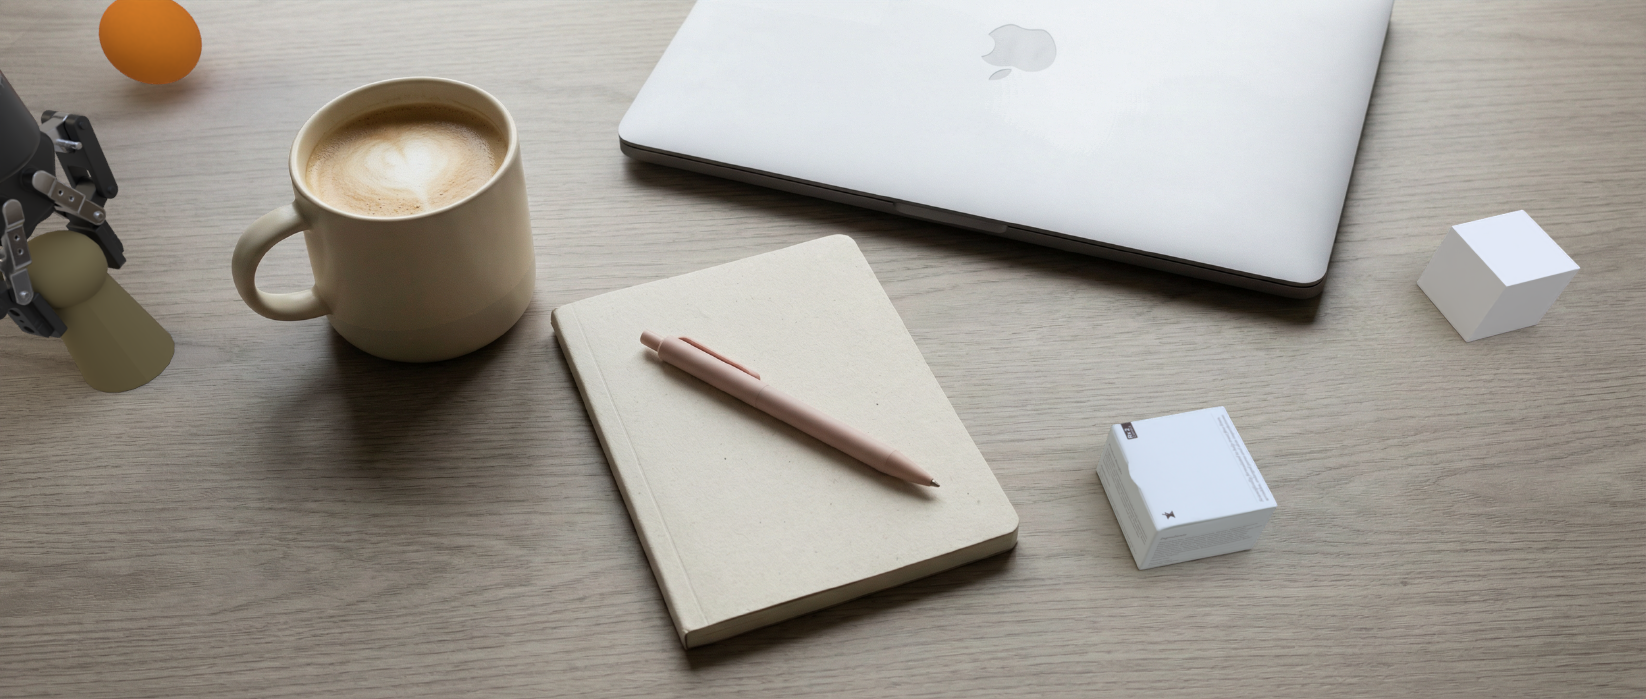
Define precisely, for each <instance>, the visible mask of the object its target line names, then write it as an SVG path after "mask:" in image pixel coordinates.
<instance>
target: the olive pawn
mask: <svg viewBox="0 0 1646 699" xmlns="http://www.w3.org/2000/svg"><path fill="white" fill-rule="evenodd" d="M27 243H28V247H29V251H30V254H31V258H32V264H31V265H29V266H28V273H29V276H30V280H31V284H32V288H33V292H37V293H40V294H41V296H42V297H43V298H44V299H45V300H46V302H47V303H48V304H49V305H50V307H51V308H52V309H53V310H54V311H55V313H56V314H57V315H58V316H59V318H60V319H61V320H62V321H63V322H64V324H65V325H66V326H67V328H68V329H67V331H66V332H65V333H64V334H63V335H62V336H61V338H60V339H61V340H62V342H63V343H64V346H65V348H66V349H67V351H68V353H69V354H70V356H71V358H72V360H73V361H74V363H75V365H76V366H77V369H78V371H79V372H80V374H81V376H82V377H83V379H84V381H85V383H86V384H88V386H90V387H91V388H92V389H94V390H97V391H100V392H103V393H122V392H126V391H127V392H128V391H131V390H135V389H137V388H139V387H141V386H144V385H145V384H148V383H149V382H151V381H152V380H154V379H155V378H157V377H158V376H159V375H161V374H162V372H164V370H165V369H167V367H168V366H169V364H170V363H171V361H172V358H173V356H174V354H175V344H176V343H175V340H174V339H173V337H172V334H170V333H169V332H168V331H167V330H166V328H165V327H163V326H162V325H161V324H160V323H159V322H158V321H157V320H156V319H155V318H154V317H153V315H151V313H149V312H148V311H147V310H146V309H145V308H144V307H143V306H142V305H141V304H140V303H139V302H138V301H137V300H136V299H135V298H134V297H133V296H132V295H131V294H130V293H129V292H128V291H127V290H126V289H125V288H124V287H123V286H122V285H121V284H120V283H119V282H118V281H117V280H116V279H115V278H114V277H113V276H112V275H111V274H110V273H108V270H109V268H108V264H107V261H106V258H105V256H104V253H103V251H102V250H101V248H100V247H99V245H98V244H96V243H95V242H94V241H93V240H91V239H90V238H89V237H87V236H86V235H84V234H81V233H78V232H74V231H70V230H68V229H57V230H54V231H48V232H47V231H46V232H45V233H42V234H40V235H36V236H35V237H33V238H31V239H29V240H27Z"/></svg>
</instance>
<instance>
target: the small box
mask: <svg viewBox="0 0 1646 699" xmlns="http://www.w3.org/2000/svg"><path fill="white" fill-rule="evenodd" d="M1233 422H1234V421H1232V419H1231V417H1230V415H1229V413H1228V411H1227V408H1226V407H1225V406H1223V405H1221V406H1220V405H1219V406H1213V407H1207V408H1201V409H1195V410H1190V411H1185V412H1179V413H1173V414H1167V415H1162V416H1157V417H1150V418H1145V419H1139V420H1133V421H1127V422H1122V423H1115V424H1112V425H1111V426H1110V428H1109V431H1108V433H1107V437H1106V439H1105V443H1104V446H1103V448H1102V451H1101V454H1100V457H1099V459H1098V463H1097V465H1096V469H1095V471H1096V473H1097V475H1098V478H1099V480H1100V482H1101V485H1102V487H1103V490H1104V491H1105V494H1106V496H1107V499H1108V502H1109V503H1110V506H1111V508H1112V511H1113V514H1114V515H1115V517H1116V519H1117V520H1116V521H1117V522H1118V524H1119V527H1120V529H1121V532H1122V534H1123V537H1124V538H1125V541H1126V543H1127V546H1128V548H1129V550H1130V553H1131V555H1132V557H1133V559H1134V561H1135V564H1136V566H1137V569H1138V570H1139V571H1142V570H1149V569H1153V568H1159V567H1165V566H1168V565H1169V566H1170V565H1174V564H1180V563H1185V562H1189V561H1194V560H1199V559H1200V560H1201V559H1207V558H1211V557H1216V556H1222V555H1227V554H1232V553H1237V552H1243V551H1248V550H1251V549H1253V548H1254V547H1255V545H1256V543H1257V541H1258V540H1259V538H1260V536H1261V534H1262V533H1263V531H1264V530H1265V527H1266V526H1267V525H1268V522H1269V521H1270V519H1271V517H1272V516H1273V514H1274V513H1275V511H1276V510H1277V507H1278V506H1279V505H1278V503H1277V501H1276V499H1275V496H1274V495H1273V493H1272V492H1271V490H1270V488H1269V485H1268V484H1267V482H1266V480H1265V479H1264V476H1263V474H1262V473H1261V471H1260V470H1259V467H1258V466H1257V464H1256V462H1255V461H1254V459H1253V457H1252V455H1251V453H1250V452H1249V450H1248V448H1247V446H1246V444H1245V442H1244V440H1243V439H1242V437H1241V435H1240V433H1239V432H1238V430H1237V428H1236V426H1235V424H1234V423H1233Z"/></svg>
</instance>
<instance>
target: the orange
mask: <svg viewBox="0 0 1646 699" xmlns="http://www.w3.org/2000/svg"><path fill="white" fill-rule="evenodd" d="M98 39H99V44H100V47H101V50H102V52H103V54H104V55H105V57H106V59H107V60H108V62H109V63H110V64H111V65H112V66H113V67H114V68H115V69H116V70H117V71H119V73H121V74H123V75H124V76H126V77H128V78H129V79H131V80H134V81H136V82H139V83H142V84H146V85H147V84H148V85H167V84H172V83H175V82H178V81H179V80H181V79H183V78H185V77H186V76H188V75H189V74H190V73H192V72H193V70H194V69H195V68H196V66H197V64H198V63H199V61H200V59H201V55H202V49H203V41H202V39H203V38H202V35H201V31H200V29H199V26H198V24H197V22H196V21H195V19H194V18H193V16H192V15H191V14H190V12H188V10H186V9H185V7H184V6H182V5H181V4H179V3H178V2H177V1H175V0H114V1H113V2H111V3H110V4H109V5H108V6H107V8H106V9H105V11H104V12H103V14H102V16H101V18H100V20H99V25H98Z"/></svg>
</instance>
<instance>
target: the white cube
mask: <svg viewBox="0 0 1646 699" xmlns="http://www.w3.org/2000/svg"><path fill="white" fill-rule="evenodd" d="M1580 270H1581V267H1580V266H1579V265H1578V264H1577V263H1576V261H1575V260H1573V259H1572V257H1570V256H1569V255H1568V253H1566V252H1565V250H1564V249H1562V248H1561V247H1560V245H1559V244H1558V243H1557V242H1556V241H1555V240H1554V239H1553V238H1552V237H1551V236H1550V235H1549V234H1548V233H1547V232H1546V231H1545V230H1544V229H1543V228H1542V227H1541V226H1540V225H1539V224H1538V223H1537V222H1536V221H1535V220H1534V219H1533V218H1532V217H1531V216H1530V215H1529V214H1528V213H1527V212H1526V211H1525V210H1524V209H1519V210H1515V211H1514V210H1513V211H1510V212H1507V213H1502V214H1497V215H1493V216H1487V217H1485V218H1484V217H1483V218H1480V219H1475V220H1471V221H1468V222H1463V223H1459V224H1455V225H1451V226H1450V228H1449V229H1448V231H1447V233H1446V234H1445V236H1444V237H1443V238H1442V240H1441V242H1440V244H1439V245H1438V247H1437V249H1436V250H1435V252H1434V253H1433V255H1432V256H1431V258H1430V260H1429V262H1428V263H1427V265H1426V267H1425V268H1424V269H1423V271H1422V273H1421V274H1420V275H1419V278H1418V279H1417V281H1416V285H1417V286H1418V287H1419V288H1420V289H1421V291H1422V292H1423V293H1424V294H1425V296H1426V297H1427V298H1428V299H1429V301H1431V302H1432V303H1433V305H1434V306H1435V307H1436V308H1437V310H1438V311H1439V312H1440V313H1441V314H1442V316H1443V317H1444V318H1445V319H1446V320H1447V321H1448V322H1449V324H1450V325H1451V326H1452V327H1453V328H1454V330H1455V331H1456V333H1458V334H1459V335H1460V336H1461V338H1462V339H1463V340H1464V341H1465V343H1469V342H1474V341H1478V340H1483V339H1486V338H1490V337H1493V336H1497V335H1501V334H1505V333H1509V332H1513V331H1518V330H1520V329H1526V328H1529V327H1532V326H1537V325H1538V324H1539V323H1540V322H1541V320H1542V319H1543V318H1544V316H1545V315H1546V313H1547V312H1548V311H1549V310H1550V308H1551V307H1552V306H1553V305H1554V303H1555V302H1556V301H1557V299H1558V298H1559V297H1560V296H1561V294H1562V293H1563V292H1564V291H1565V289H1566V288H1567V287H1568V285H1569V284H1570V282H1571V281H1572V280H1573V279H1574V277H1575V276H1576V275H1577V273H1579V271H1580Z"/></svg>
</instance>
